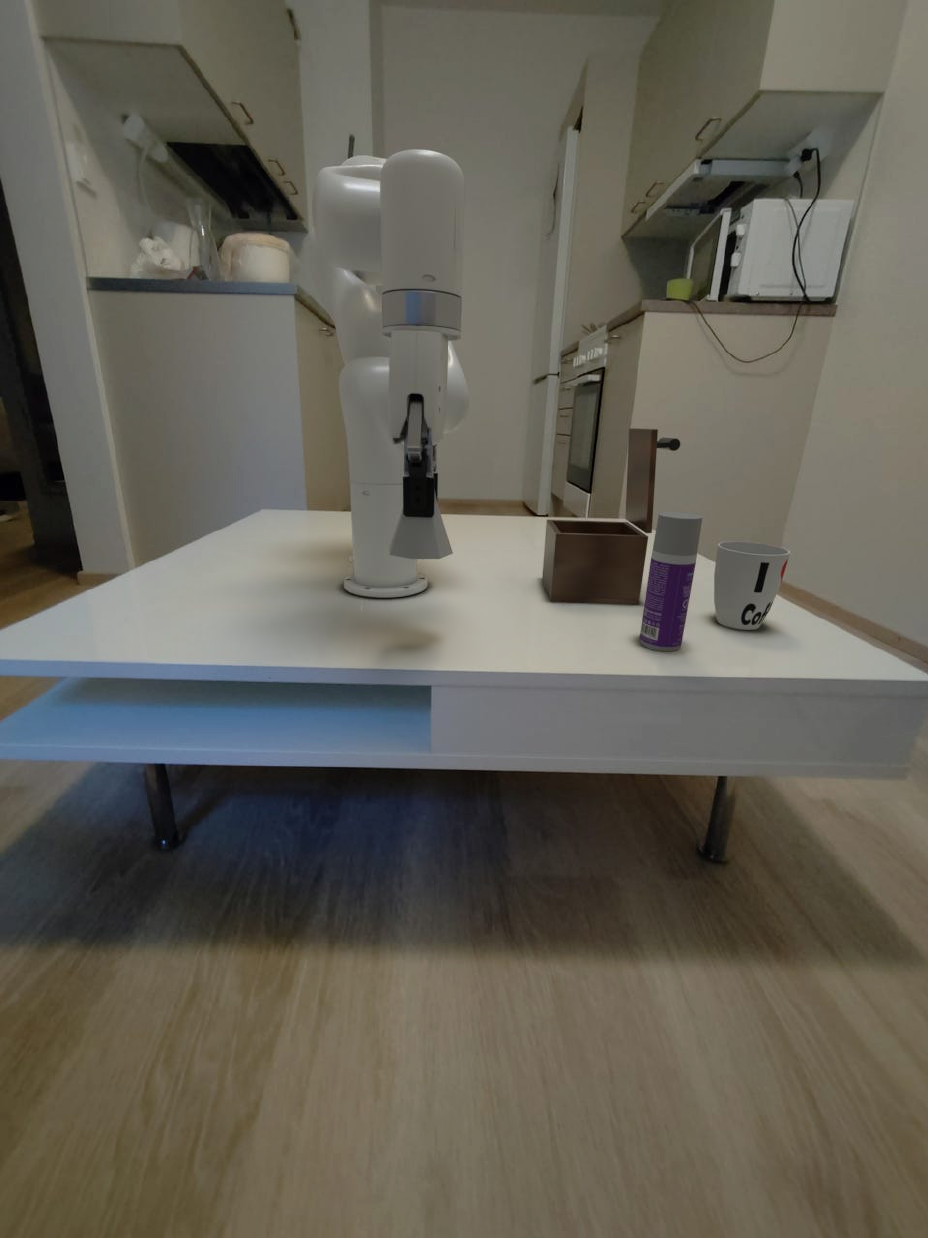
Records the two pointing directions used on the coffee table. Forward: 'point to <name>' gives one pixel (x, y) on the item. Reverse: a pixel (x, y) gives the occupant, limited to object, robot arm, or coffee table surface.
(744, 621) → the cup
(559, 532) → the bin
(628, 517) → the bin lid
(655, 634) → the container
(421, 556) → the flask
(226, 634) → the coffee table surface
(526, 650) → the coffee table surface
